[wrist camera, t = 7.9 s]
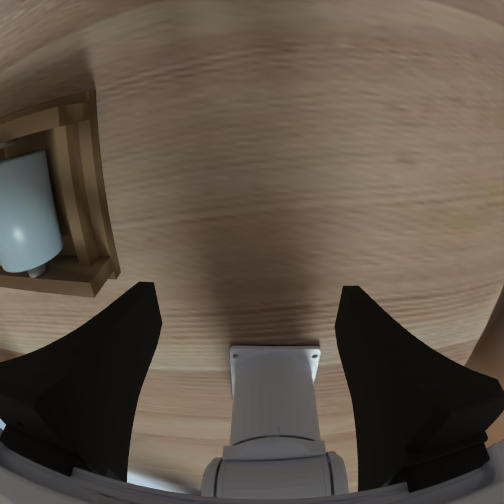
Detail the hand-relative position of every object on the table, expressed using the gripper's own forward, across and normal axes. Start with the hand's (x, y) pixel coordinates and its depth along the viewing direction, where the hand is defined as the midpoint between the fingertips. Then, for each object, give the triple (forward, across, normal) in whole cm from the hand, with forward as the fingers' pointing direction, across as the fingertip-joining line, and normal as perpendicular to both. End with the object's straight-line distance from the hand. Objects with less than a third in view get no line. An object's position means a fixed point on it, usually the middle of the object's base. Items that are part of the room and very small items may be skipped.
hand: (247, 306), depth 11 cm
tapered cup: (+9, +16, -2) cm, 18 cm away
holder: (+10, +16, -2) cm, 19 cm away
